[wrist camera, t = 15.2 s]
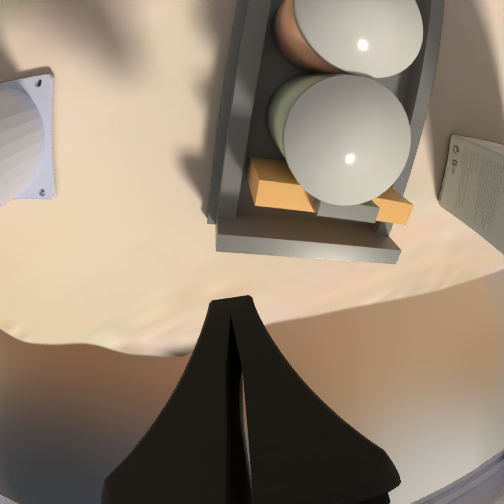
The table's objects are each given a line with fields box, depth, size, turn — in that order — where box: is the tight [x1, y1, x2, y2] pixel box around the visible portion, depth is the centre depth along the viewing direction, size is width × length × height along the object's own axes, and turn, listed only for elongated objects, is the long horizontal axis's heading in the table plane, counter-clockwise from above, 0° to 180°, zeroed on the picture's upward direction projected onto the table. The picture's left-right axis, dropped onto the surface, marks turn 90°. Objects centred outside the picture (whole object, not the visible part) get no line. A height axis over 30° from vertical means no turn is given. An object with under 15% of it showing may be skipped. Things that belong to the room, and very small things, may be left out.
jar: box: [271, 0, 423, 78], centre depth 10 cm, size 5×5×6 cm
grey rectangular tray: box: [207, 0, 444, 264], centre depth 11 cm, size 12×26×4 cm, turn 171°
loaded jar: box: [266, 73, 411, 206], centre depth 13 cm, size 5×5×6 cm
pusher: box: [247, 156, 413, 225], centre depth 15 cm, size 8×1×5 cm, turn 81°
